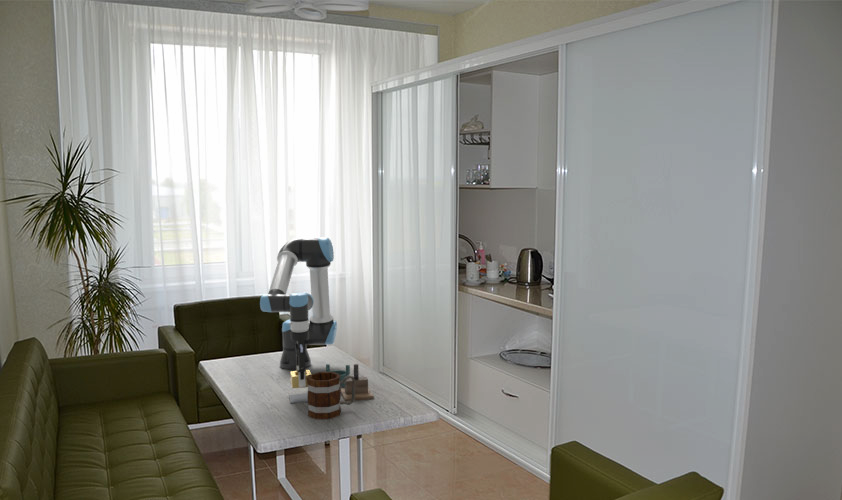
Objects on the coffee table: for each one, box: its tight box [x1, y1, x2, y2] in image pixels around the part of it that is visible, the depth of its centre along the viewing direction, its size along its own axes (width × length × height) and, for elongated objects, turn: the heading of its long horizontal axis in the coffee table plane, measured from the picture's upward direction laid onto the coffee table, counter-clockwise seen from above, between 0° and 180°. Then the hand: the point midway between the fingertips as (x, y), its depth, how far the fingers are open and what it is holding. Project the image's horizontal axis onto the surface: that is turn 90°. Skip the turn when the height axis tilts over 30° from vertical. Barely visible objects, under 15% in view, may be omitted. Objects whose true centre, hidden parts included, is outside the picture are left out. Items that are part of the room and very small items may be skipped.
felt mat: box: [288, 392, 308, 405], centre depth 278 cm, size 10×10×1 cm
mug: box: [307, 371, 356, 420], centre depth 261 cm, size 20×14×15 cm
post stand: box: [340, 363, 375, 402], centre depth 282 cm, size 14×12×13 cm
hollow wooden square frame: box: [289, 369, 312, 389], centre depth 277 cm, size 8×8×5 cm
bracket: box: [325, 363, 351, 388], centre depth 298 cm, size 9×9×9 cm
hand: (301, 383), depth 277 cm, fingers closed on hollow wooden square frame, 8 cm apart
